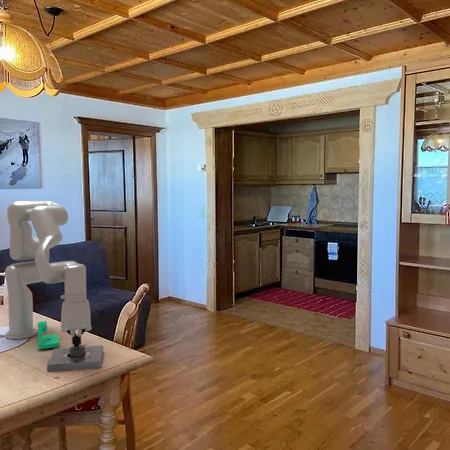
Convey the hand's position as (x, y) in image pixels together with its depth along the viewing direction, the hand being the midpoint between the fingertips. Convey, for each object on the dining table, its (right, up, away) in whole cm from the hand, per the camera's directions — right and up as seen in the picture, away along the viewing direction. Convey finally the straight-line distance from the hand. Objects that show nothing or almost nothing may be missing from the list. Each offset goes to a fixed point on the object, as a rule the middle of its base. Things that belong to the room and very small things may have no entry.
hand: (76, 346), depth 164 cm
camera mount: (-17, -5, +17) cm, 25 cm away
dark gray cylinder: (0, -6, +1) cm, 6 cm away
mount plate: (0, -6, +1) cm, 6 cm away
